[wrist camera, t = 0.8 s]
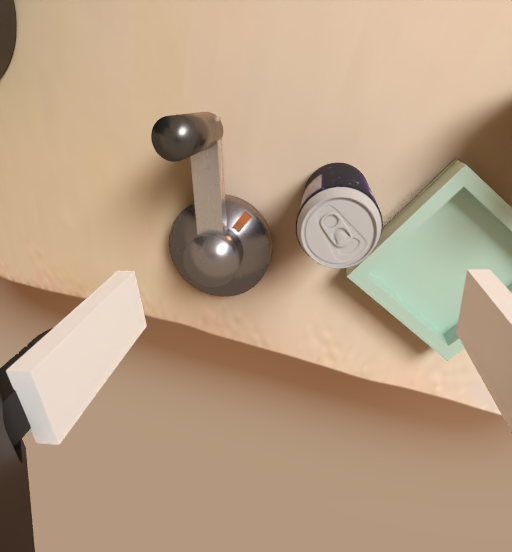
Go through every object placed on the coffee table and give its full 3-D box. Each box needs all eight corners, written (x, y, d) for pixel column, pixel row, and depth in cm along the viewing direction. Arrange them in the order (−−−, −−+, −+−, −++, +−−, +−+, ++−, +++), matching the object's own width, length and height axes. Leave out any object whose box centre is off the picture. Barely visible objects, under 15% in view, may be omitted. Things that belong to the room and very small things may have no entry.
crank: (244, 275, 38) (222, 321, 30) (195, 273, 39) (161, 317, 31) (237, 110, 32) (207, 114, 24) (180, 112, 33) (132, 116, 25)
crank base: (158, 246, 41) (149, 254, 39) (212, 172, 37) (205, 177, 35) (233, 304, 42) (228, 315, 40) (293, 239, 38) (291, 247, 36)
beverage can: (326, 234, 37) (325, 289, 27) (292, 185, 36) (277, 222, 25) (380, 200, 35) (402, 245, 25) (345, 147, 34) (353, 170, 23)
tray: (345, 264, 38) (346, 276, 36) (454, 159, 33) (466, 164, 30) (439, 343, 40) (447, 360, 37) (557, 255, 35) (576, 268, 32)
